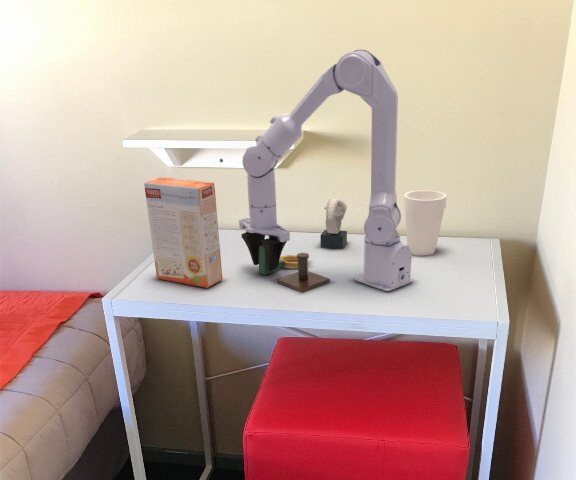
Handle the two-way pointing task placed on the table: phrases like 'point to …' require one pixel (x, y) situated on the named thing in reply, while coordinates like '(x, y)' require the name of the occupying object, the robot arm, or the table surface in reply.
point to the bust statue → (334, 225)
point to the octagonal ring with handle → (282, 262)
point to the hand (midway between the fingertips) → (265, 266)
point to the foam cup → (423, 220)
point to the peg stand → (303, 276)
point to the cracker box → (184, 231)
